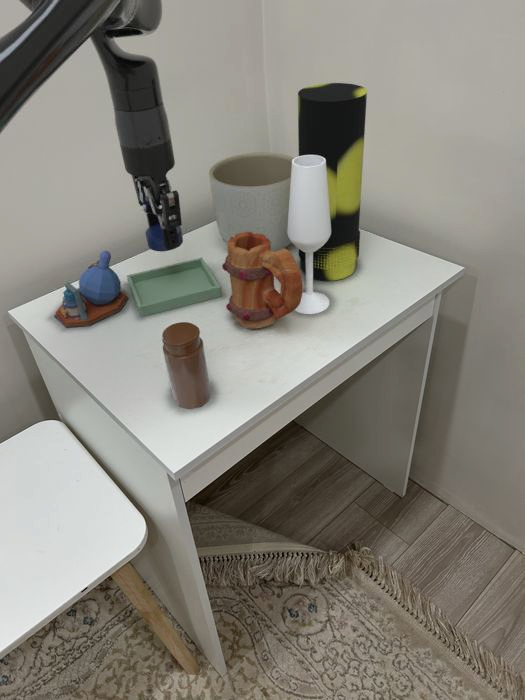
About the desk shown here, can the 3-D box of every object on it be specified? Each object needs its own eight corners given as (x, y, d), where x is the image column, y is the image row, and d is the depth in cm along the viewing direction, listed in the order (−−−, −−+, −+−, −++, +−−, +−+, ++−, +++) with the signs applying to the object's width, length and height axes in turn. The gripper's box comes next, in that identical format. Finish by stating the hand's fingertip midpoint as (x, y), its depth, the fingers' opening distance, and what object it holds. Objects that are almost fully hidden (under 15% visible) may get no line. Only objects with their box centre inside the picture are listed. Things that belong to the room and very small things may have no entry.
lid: (178, 231, 94) (176, 219, 92) (187, 246, 90) (185, 233, 88) (144, 239, 92) (142, 227, 91) (152, 254, 88) (149, 241, 87)
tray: (140, 317, 91) (138, 307, 90) (128, 284, 99) (126, 275, 98) (221, 296, 95) (220, 286, 93) (203, 266, 103) (201, 257, 102)
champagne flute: (281, 300, 92) (275, 160, 77) (313, 287, 95) (313, 148, 80) (305, 319, 88) (303, 173, 73) (337, 304, 91) (342, 161, 75)
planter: (269, 216, 118) (265, 145, 108) (321, 245, 107) (321, 168, 97) (202, 242, 110) (191, 168, 101) (250, 275, 99) (243, 196, 90)
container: (339, 288, 94) (346, 105, 75) (287, 271, 100) (281, 96, 81) (368, 261, 101) (381, 86, 82) (318, 247, 106) (320, 79, 87)
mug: (218, 318, 90) (207, 235, 80) (255, 298, 94) (249, 216, 84) (278, 358, 81) (274, 270, 71) (317, 334, 85) (317, 248, 75)
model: (109, 284, 100) (97, 238, 94) (136, 303, 94) (124, 256, 88) (48, 311, 94) (31, 264, 88) (73, 334, 88) (56, 286, 82)
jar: (182, 414, 73) (168, 350, 66) (168, 391, 77) (153, 329, 70) (217, 399, 75) (207, 336, 68) (201, 378, 78) (191, 315, 71)
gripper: (188, 143, 76) (203, 250, 87) (150, 120, 86) (168, 218, 97) (138, 156, 74) (160, 264, 84) (104, 130, 83) (128, 230, 94)
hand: (164, 239), depth 91 cm, fingers closed on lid, 6 cm apart
